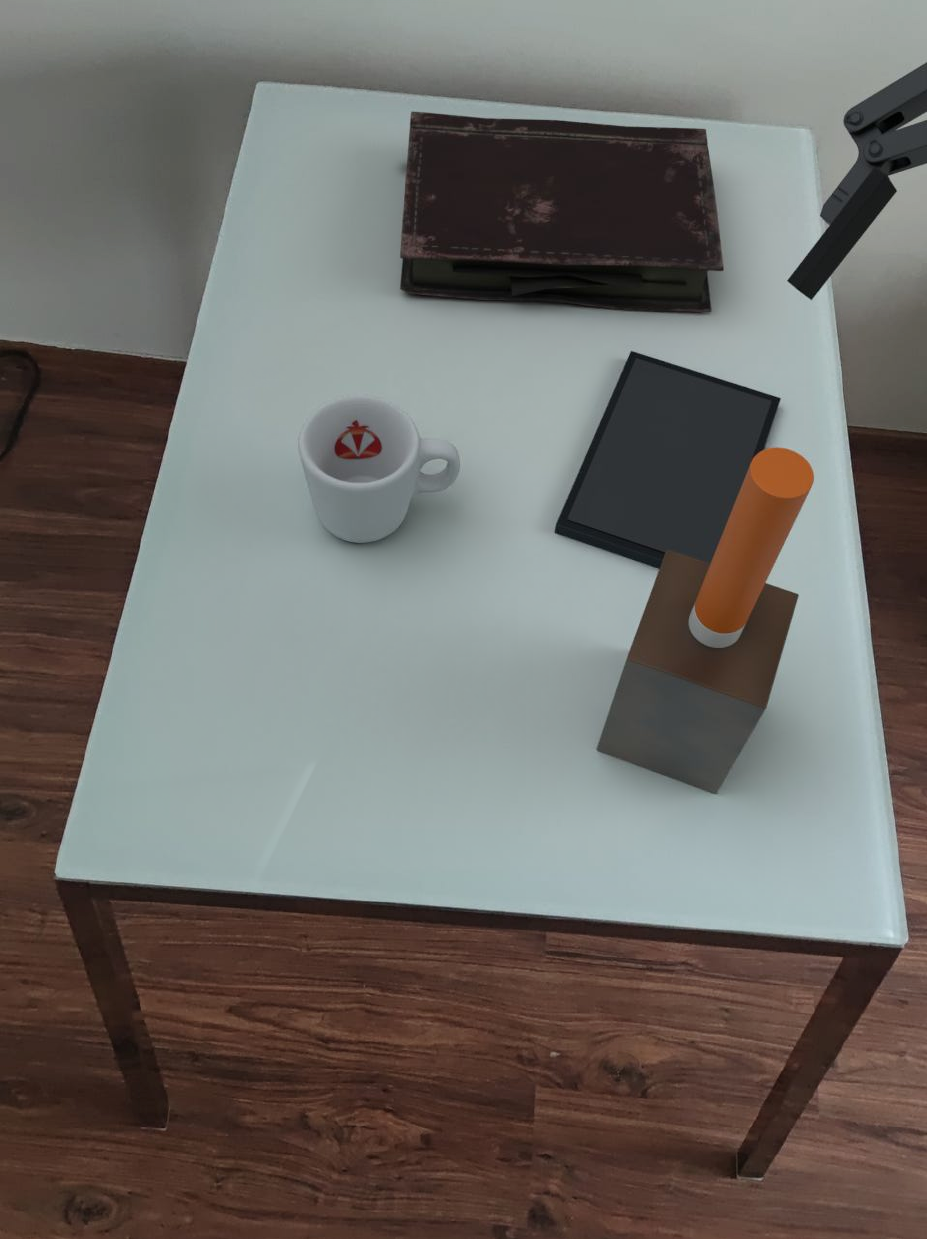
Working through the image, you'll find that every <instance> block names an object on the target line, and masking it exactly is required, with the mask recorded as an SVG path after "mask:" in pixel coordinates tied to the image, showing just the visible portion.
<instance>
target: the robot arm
mask: <svg viewBox="0 0 927 1239" xmlns="http://www.w3.org/2000/svg"><path fill="white" fill-rule="evenodd" d="M925 113H927V61H926V62H924V63H923V64H922V65H920V66H918V67H916V68H915V69H913V70H911V71H909V72H908V73H906V74H904V75H903V76H901V77H900V78H898V79H896V80H895V81H893V82H892V83H889V84H888V85H887V86H885V87H883V88H881V89H880V90H878V91H877V92H875V93H873V94H872V95H870V96H868V97H867V98H865V99H864V100H862V101H861V102H859V103H857V104H856V105H854V106H852V107H850V109H848V110H847V111H846V113H845V114H844V116H843V122H842V123H843V127H844V128H845V129H846V131H847V133H848V134H849V135H850V137H851V139H852V140H853V142H854V144H855V146H856V148H857V151H858V154H857V155H858V156H857V158H856V161H855V162H854V163H853V165H852V167H851V168H850V169H849V170H848V172H847V173H846V175H845V176H844V177H843V179H841V181H840V183H839V184H838V185H837V187H836V188H835V189H834V190H833V191H832V192H831V195H829V197H828V198H827V199H826V201H824V203H823V204H822V207H821V210H820V213H819V217H820V218H821V219H822V220H823V221H824V223H826V224H827V225H828V226H827V228H826V229H825V231H824V232H823V233H822V234H821V236H820V237H819V239H818V240H817V241H816V242H815V244H814V245H813V246H812V248H811V249H810V250H809V252H808V253H807V254H806V255H805V257H804V258H803V259H802V261H801V262H800V263H799V265H797V267H796V268H795V269H794V271H793V272H792V274H790V277H789V278H788V279H787V280H786V282H787V283H788V284H790V285H791V286H793V288H794V289H795V290H797V291H798V292H800V294H802V295H804V296H805V297H806V298H808V299H809V300H810V301H813V299H814V298H815V296H817V294H818V293H819V292H820V290H822V288H823V286H824V285H825V284H826V283H827V281H828V280H829V279H830V278H831V276H832V275H833V274H834V272H835V271H836V270H837V269H838V267H839V266H840V264H841V263H843V261H844V260H845V258H846V257H847V256H848V255H849V253H850V252H851V251H852V250H853V248H854V247H855V246H856V244H857V243H858V242H859V241H860V239H861V238H862V237H863V236H864V235H865V232H867V230H868V229H869V228H870V227H871V225H872V224H873V223H874V221H875V220H876V219H877V218H878V216H879V215H880V214H881V213H882V212H883V210H884V208H885V207H886V206H887V205H888V203H889V202H890V201H891V199H892V198H894V196H895V195H896V193H898V190H897V188H896V187H895V185H894V184H893V182H892V180H891V179H890V176H892V175H895V174H898V173H901V172H904V171H907V170H911V169H915V168H918V167H920V166H923V165H926V164H927V119H925V120H921V121H919V122H916V123H913V124H910V125H907V124H909V123H910V122H913V121H914V120H915V119H918V118H919V117H921V116H922V115H924V114H925ZM905 125H906V126H905Z"/></svg>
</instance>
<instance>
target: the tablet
mask: <svg viewBox="0 0 927 1239" xmlns="http://www.w3.org/2000/svg"><path fill="white" fill-rule="evenodd" d="M780 402H781V397H779V396H775V395H772V394H770V393H766V392H763V391H759V390H757V389H753V388H751V387H747V386H744V385H741V384H737V383H734V382H731V381H728V380H725V379H721V378H718V377H716V376H712V375H709V374H706V373H703V372H700V371H696V370H694V369H690V368H687V367H684V366H680V365H678V364H675V363H671V362H668V361H665V360H661V359H659V358H655V357H653V356H649V355H646V354H643V353H640V352H637V351H633V350H630V351H629V354H628V356H627V359H626V361H625V364H624V366H623V368H622V371H621V373H620V375H619V377H618V380H617V382H616V385H615V387H614V389H613V392H612V393H611V396H610V398H609V401H608V403H607V405H606V408H605V410H604V412H603V415H602V416H601V419H600V422H599V424H598V426H597V429H596V431H595V433H594V435H593V438H592V440H591V442H590V444H589V447H588V449H587V451H586V454H585V456H584V459H583V461H582V463H581V465H580V467H579V470H578V472H577V475H576V476H575V479H574V482H573V484H572V485H571V489H570V491H569V493H568V495H567V498H566V500H565V503H564V504H563V507H562V509H561V511H560V514H559V517H558V519H557V520H556V523H555V527H554V533H555V534H557V535H561V536H563V537H566V538H569V539H572V540H575V541H577V542H581V543H583V544H585V545H586V544H587V545H590V546H592V547H596V548H598V549H601V550H604V551H606V552H610V553H613V554H616V555H619V556H622V557H624V558H628V559H630V560H633V561H635V562H639V563H641V564H645V565H648V566H651V567H654V568H656V569H658V570H659V569H660V566H661V563H662V561H663V558H664V555H665V553H666V550H670V551H673V552H676V553H679V554H682V555H685V556H688V557H691V558H694V559H697V560H700V561H703V562H705V563H708V564H711V561H712V559H713V556H714V554H715V551H716V549H717V546H718V544H719V541H720V539H721V536H722V534H723V531H724V529H725V526H726V524H727V521H728V519H729V516H730V514H731V511H732V509H733V506H734V504H735V501H736V499H737V496H738V494H739V491H740V489H741V486H742V484H743V481H744V479H745V476H746V474H747V471H748V469H749V466H750V464H751V462H752V459H753V458H754V457H755V456H756V455H757V454H758V453H759V452H761V451H763V450H765V448H766V445H767V442H768V438H769V436H770V432H771V431H772V430H771V429H772V426H773V424H774V420H775V417H776V415H777V411H778V409H779V405H780Z"/></svg>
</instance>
